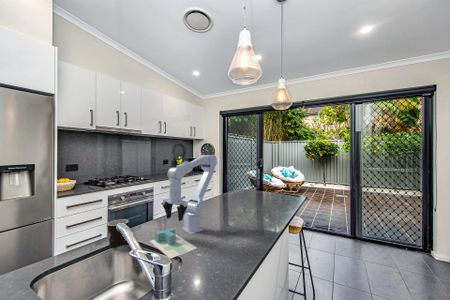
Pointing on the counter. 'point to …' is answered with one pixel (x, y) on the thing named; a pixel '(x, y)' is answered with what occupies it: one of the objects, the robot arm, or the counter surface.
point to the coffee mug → (116, 233)
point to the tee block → (166, 236)
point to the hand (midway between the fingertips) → (174, 219)
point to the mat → (174, 247)
